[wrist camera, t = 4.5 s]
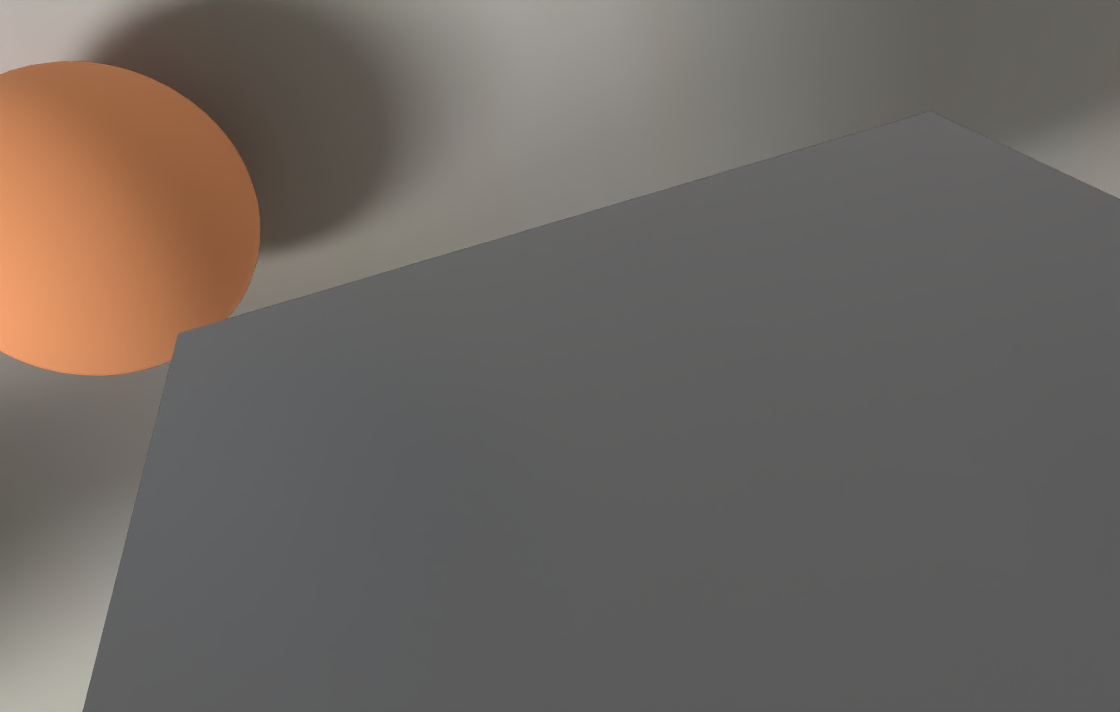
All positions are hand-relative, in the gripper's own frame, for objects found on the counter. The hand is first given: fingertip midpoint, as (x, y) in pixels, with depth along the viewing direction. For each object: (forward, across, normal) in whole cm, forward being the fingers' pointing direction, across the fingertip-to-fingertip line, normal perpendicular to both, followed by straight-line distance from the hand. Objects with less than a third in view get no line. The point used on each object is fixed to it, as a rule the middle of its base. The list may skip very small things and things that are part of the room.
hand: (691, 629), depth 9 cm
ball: (+9, +6, -3) cm, 11 cm away
